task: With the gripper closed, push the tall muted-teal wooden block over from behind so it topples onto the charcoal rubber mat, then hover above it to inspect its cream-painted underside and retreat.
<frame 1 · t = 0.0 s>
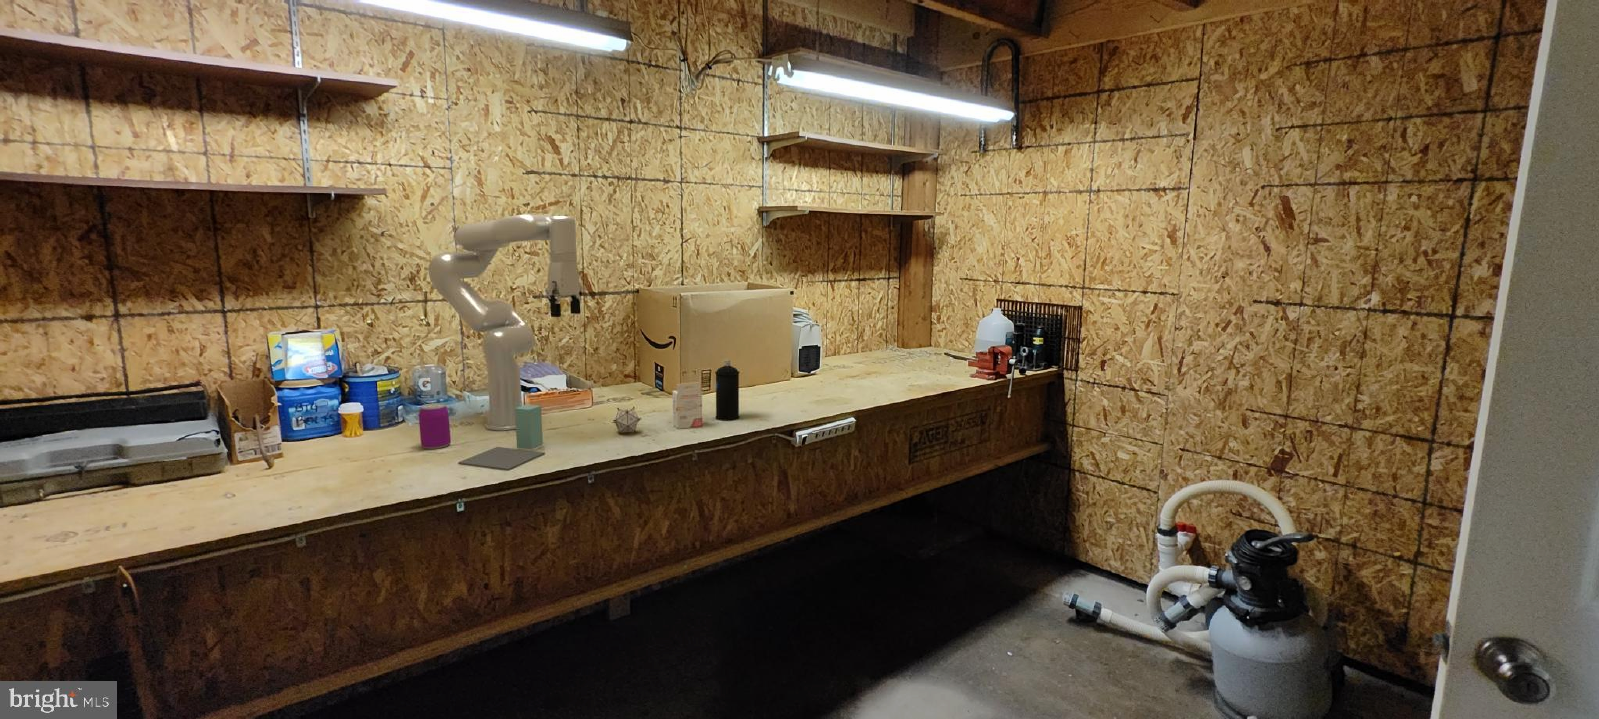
hand: (566, 315, 215), 37 cm above the table, tool pointing down, fingers open, 9 cm apart
aerosol can: (727, 418, 242), on the table
teal block: (530, 447, 206), on the table
ink cartridge box: (687, 426, 231), on the table
beverage can: (436, 446, 206), on the table
game die: (627, 433, 222), on the table
mat: (502, 458, 195), on the table
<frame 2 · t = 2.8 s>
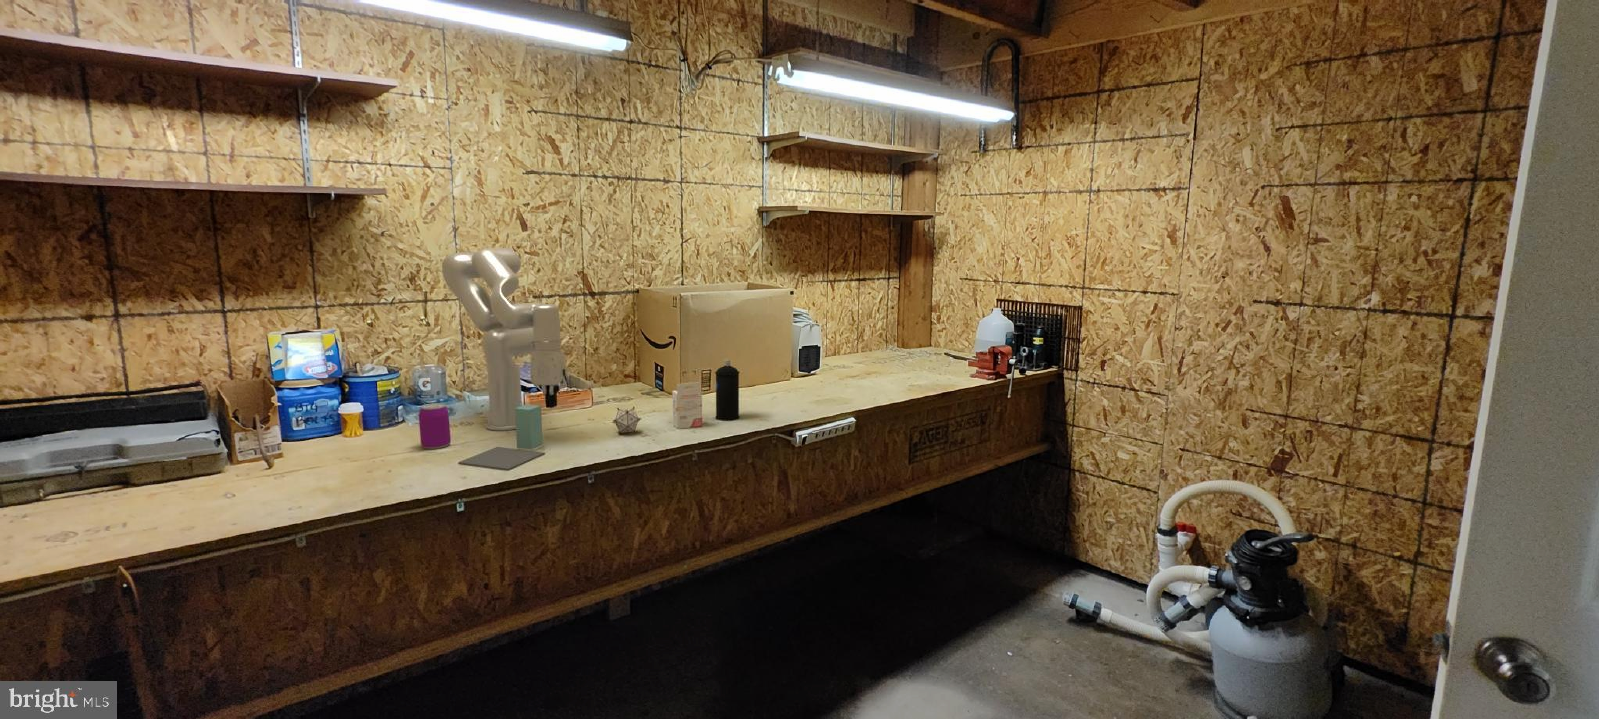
hand: (551, 406, 213), 10 cm above the table, tool pointing down, fingers closed
nothing on the table moved.
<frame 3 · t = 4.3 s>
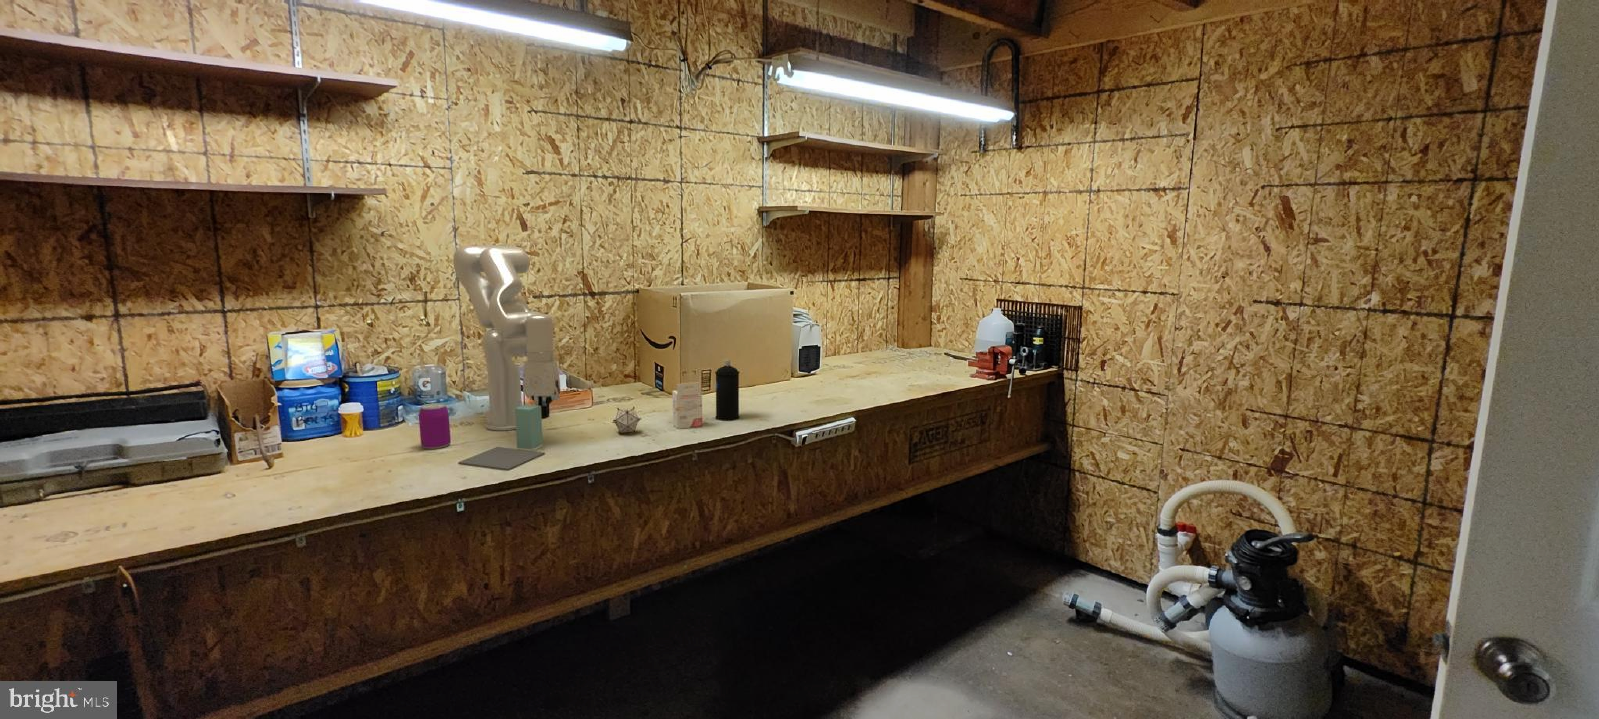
hand: (543, 417, 211), 7 cm above the table, tool pointing down, fingers closed
nothing on the table moved.
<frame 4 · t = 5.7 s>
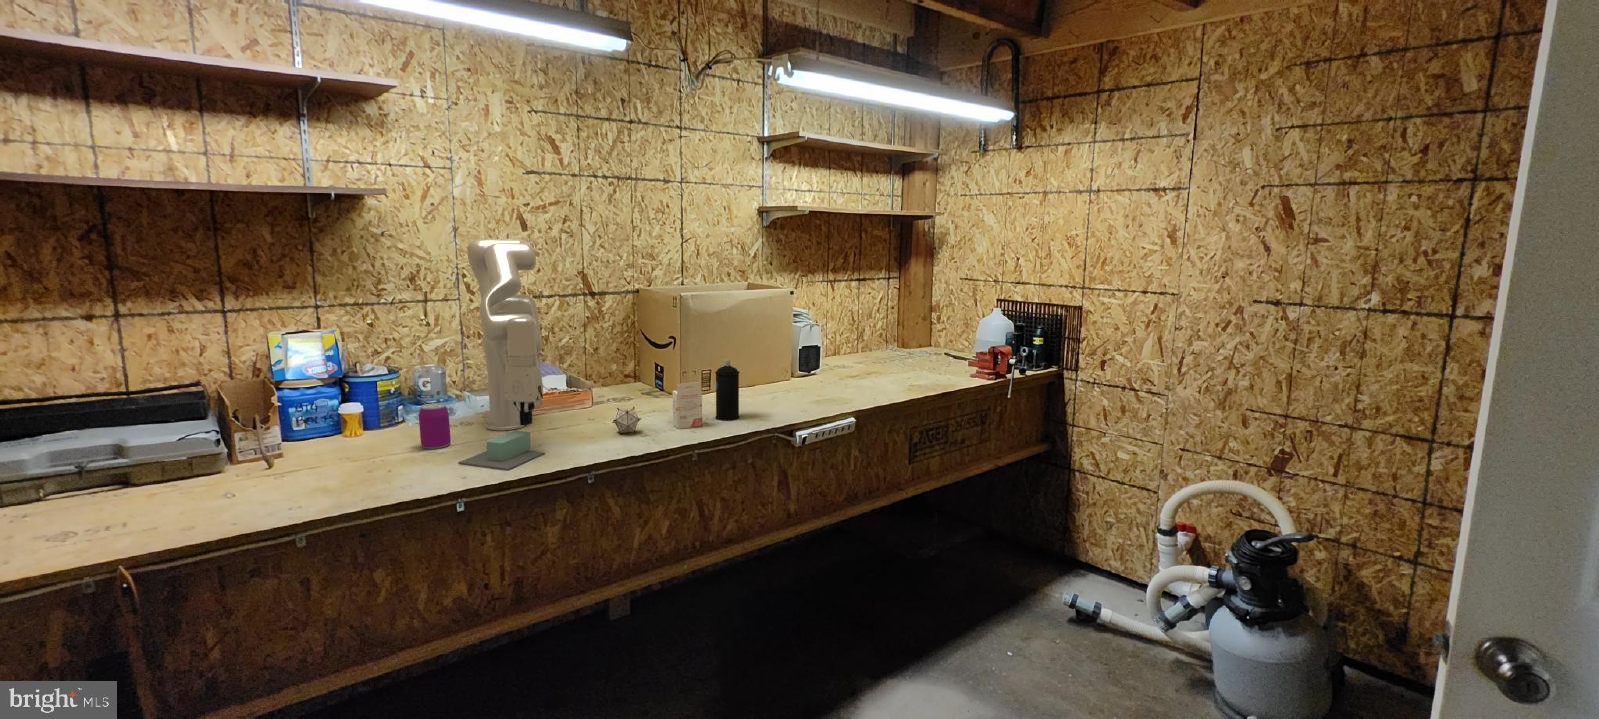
hand: (526, 424, 203), 7 cm above the table, tool pointing down, fingers closed
teal block: (524, 439, 203), point 3 cm above the table, tilted 90°, touching mat
everything else where it was.
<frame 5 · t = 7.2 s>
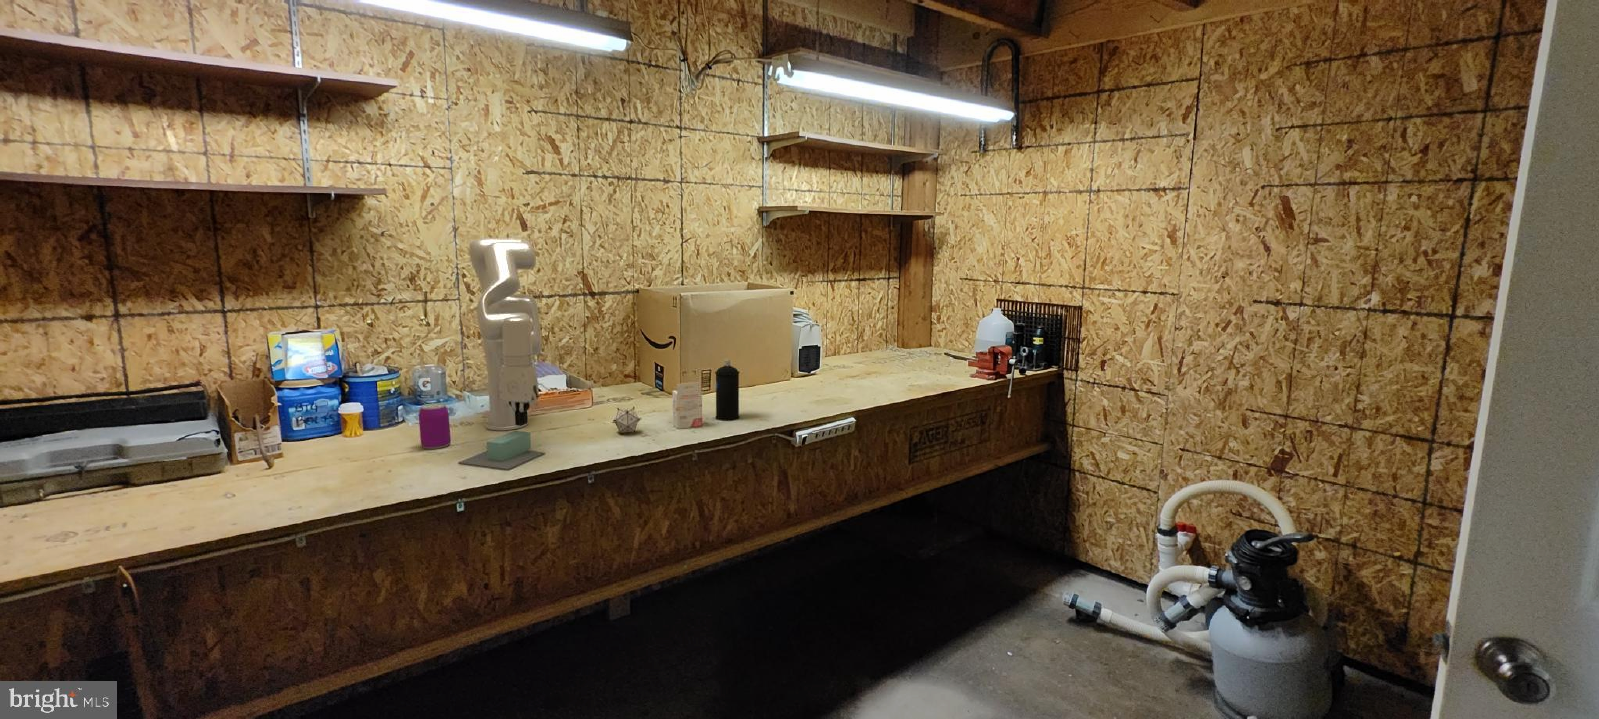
hand: (521, 424, 202), 8 cm above the table, tool pointing down, fingers closed
nothing on the table moved.
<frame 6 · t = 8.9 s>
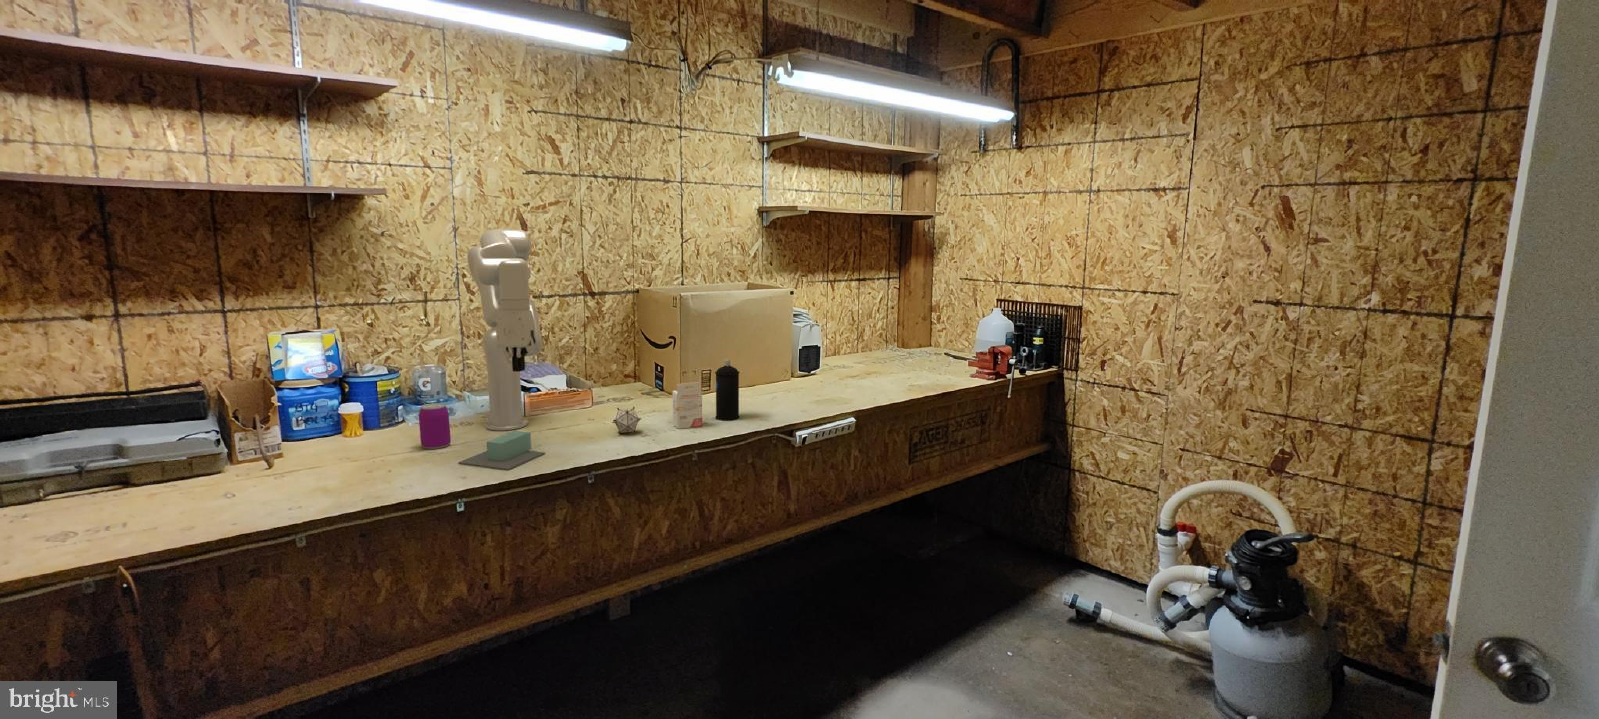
hand: (518, 370, 199), 23 cm above the table, tool pointing down, fingers closed
nothing on the table moved.
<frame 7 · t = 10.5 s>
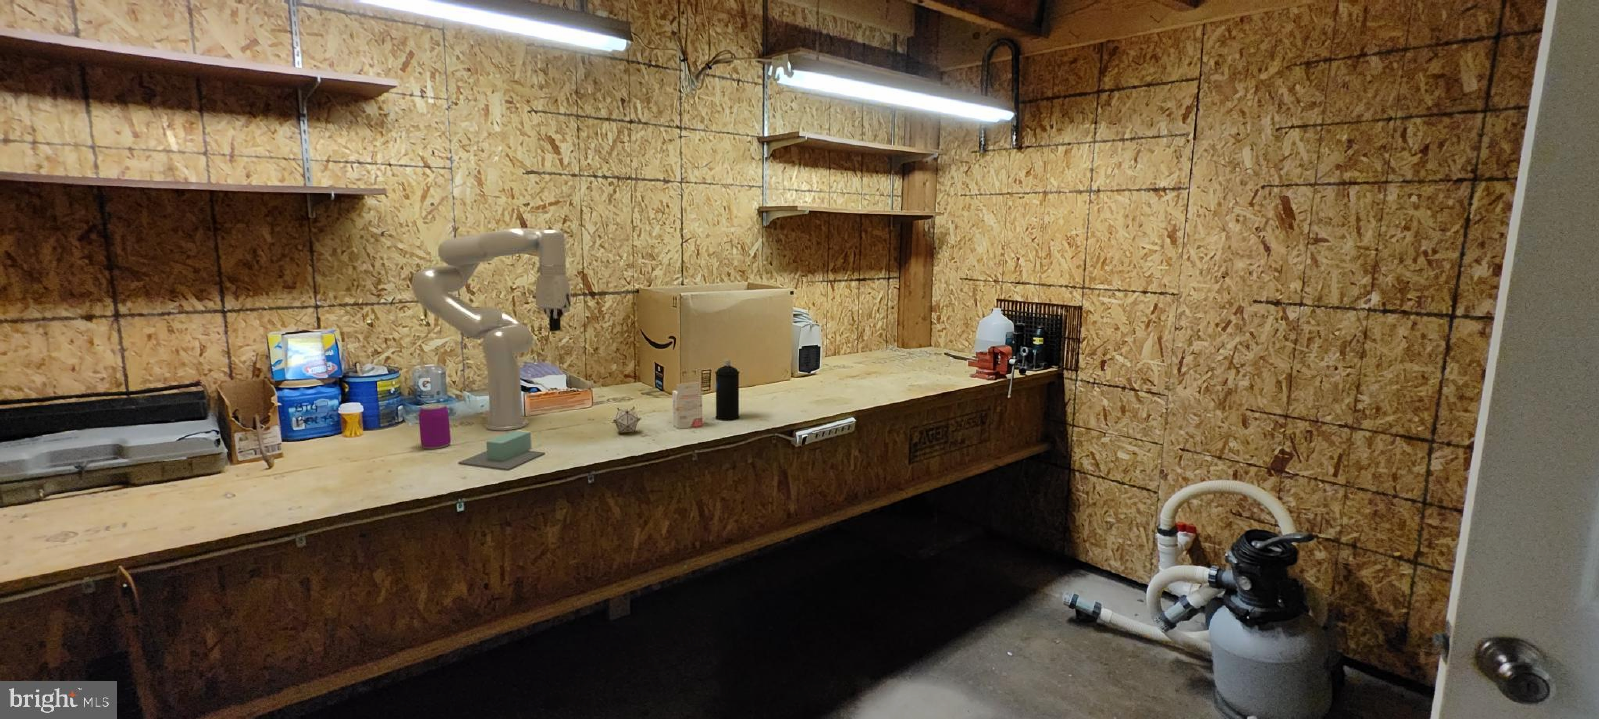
hand: (555, 330, 219), 31 cm above the table, tool pointing down, fingers closed
nothing on the table moved.
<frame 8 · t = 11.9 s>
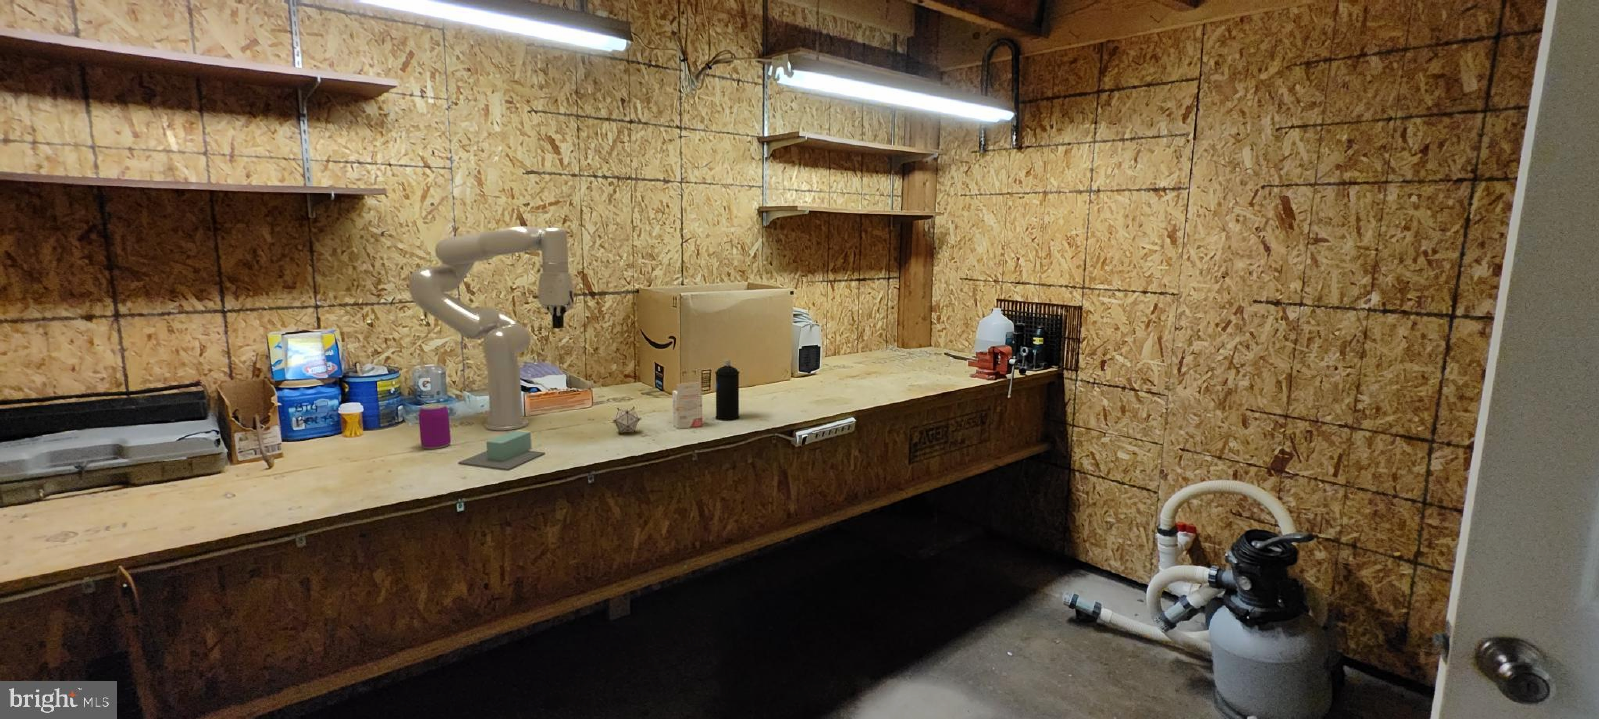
hand: (558, 327, 221), 32 cm above the table, tool pointing down, fingers closed
nothing on the table moved.
at the end: teal block tilted 90°; teal block touching mat; teal block inside the target area (0.6 cm from its centre), point 3.0 cm above the table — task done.
